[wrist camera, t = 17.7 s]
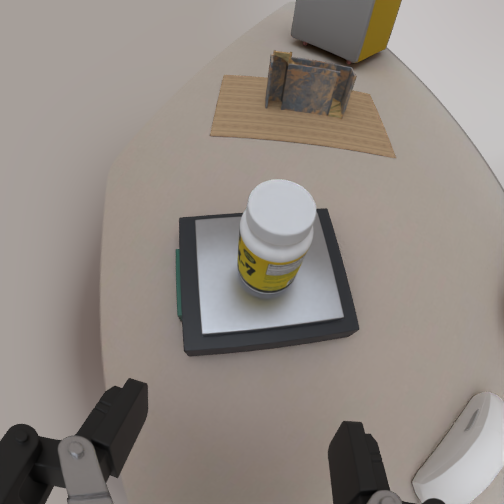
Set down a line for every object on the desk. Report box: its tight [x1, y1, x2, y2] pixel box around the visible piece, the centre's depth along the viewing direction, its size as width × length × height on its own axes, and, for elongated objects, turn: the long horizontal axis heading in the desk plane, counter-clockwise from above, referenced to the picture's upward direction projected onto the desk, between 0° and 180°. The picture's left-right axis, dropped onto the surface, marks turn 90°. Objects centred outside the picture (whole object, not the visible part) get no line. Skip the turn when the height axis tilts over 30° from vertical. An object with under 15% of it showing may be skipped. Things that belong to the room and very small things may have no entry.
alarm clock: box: [291, 0, 402, 64], centre depth 47 cm, size 20×16×18 cm
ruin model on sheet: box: [210, 51, 396, 158], centre depth 37 cm, size 25×16×10 cm, turn 88°
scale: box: [176, 208, 359, 356], centre depth 27 cm, size 14×12×2 cm
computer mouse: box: [412, 392, 504, 504], centre depth 17 cm, size 6×13×6 cm, turn 130°
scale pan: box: [195, 212, 344, 336], centre depth 25 cm, size 11×10×1 cm
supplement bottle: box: [237, 179, 316, 294], centre depth 21 cm, size 5×5×8 cm
